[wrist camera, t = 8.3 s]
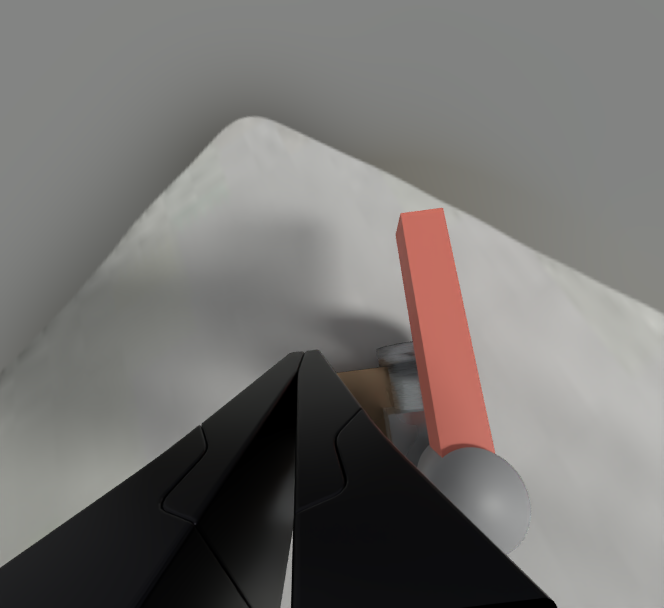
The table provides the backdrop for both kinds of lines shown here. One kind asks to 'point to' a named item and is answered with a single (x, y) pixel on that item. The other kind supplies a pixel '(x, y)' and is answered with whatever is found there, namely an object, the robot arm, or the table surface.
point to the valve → (393, 398)
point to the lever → (455, 388)
